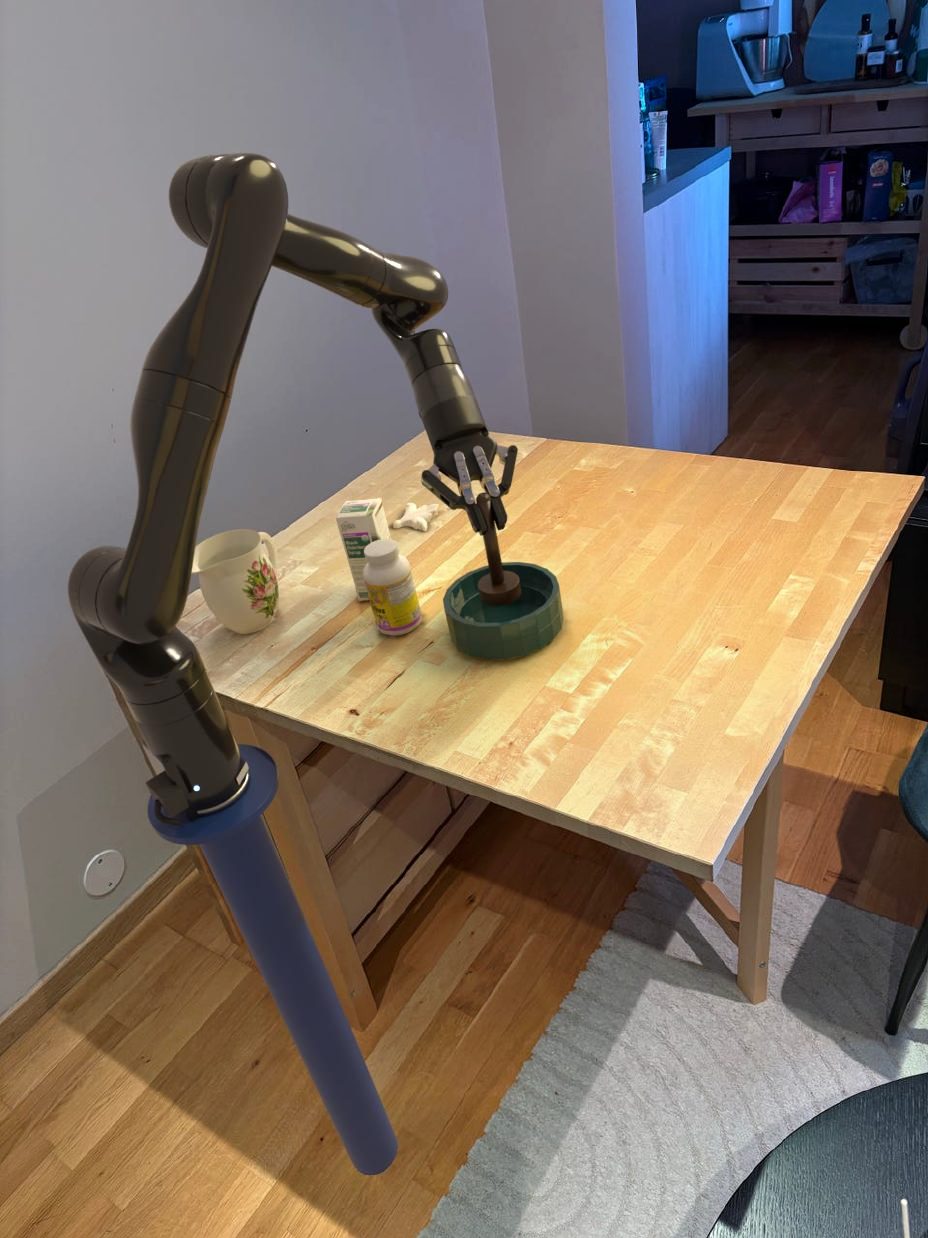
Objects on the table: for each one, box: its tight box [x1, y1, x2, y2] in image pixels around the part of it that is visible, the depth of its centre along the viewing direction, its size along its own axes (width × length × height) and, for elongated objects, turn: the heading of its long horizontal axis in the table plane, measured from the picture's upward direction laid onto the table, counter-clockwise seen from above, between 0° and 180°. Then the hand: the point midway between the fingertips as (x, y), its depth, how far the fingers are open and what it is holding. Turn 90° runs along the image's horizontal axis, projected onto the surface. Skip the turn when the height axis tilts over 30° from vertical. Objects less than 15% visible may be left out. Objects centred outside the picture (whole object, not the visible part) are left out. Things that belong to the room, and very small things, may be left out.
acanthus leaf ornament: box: [392, 502, 440, 532], centre depth 158 cm, size 8×7×2 cm
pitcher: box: [191, 528, 280, 635], centre depth 137 cm, size 11×18×14 cm, turn 158°
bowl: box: [442, 561, 565, 661], centre depth 125 cm, size 16×16×6 cm
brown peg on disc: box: [475, 492, 521, 606], centre depth 119 cm, size 6×6×15 cm
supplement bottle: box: [363, 538, 423, 636], centre depth 129 cm, size 7×7×13 cm
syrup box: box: [335, 497, 392, 602], centre depth 137 cm, size 6×6×14 cm
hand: (493, 530), depth 116 cm, fingers closed on brown peg on disc
